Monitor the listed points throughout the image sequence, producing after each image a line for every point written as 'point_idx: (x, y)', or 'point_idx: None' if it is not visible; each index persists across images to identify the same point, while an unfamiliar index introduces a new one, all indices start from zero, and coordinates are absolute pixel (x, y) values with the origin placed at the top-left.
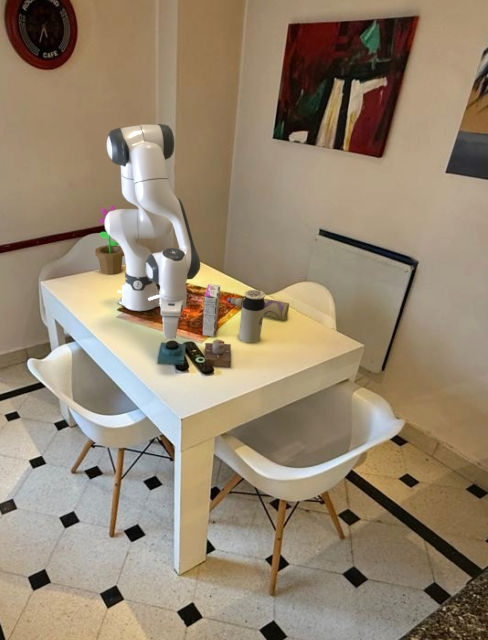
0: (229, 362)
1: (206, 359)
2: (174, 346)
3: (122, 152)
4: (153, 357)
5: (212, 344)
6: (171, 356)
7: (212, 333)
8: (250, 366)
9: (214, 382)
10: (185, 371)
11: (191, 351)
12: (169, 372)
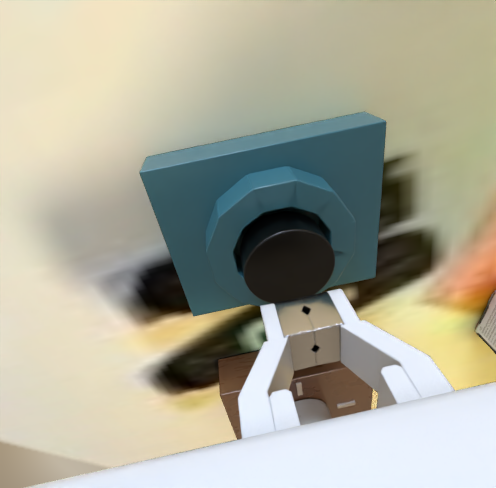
0: None
1: (221, 398)
2: (251, 290)
3: None
4: (218, 96)
5: (361, 385)
6: (204, 249)
7: (489, 338)
8: None
9: (117, 409)
10: (141, 312)
11: (338, 285)
12: (88, 250)
